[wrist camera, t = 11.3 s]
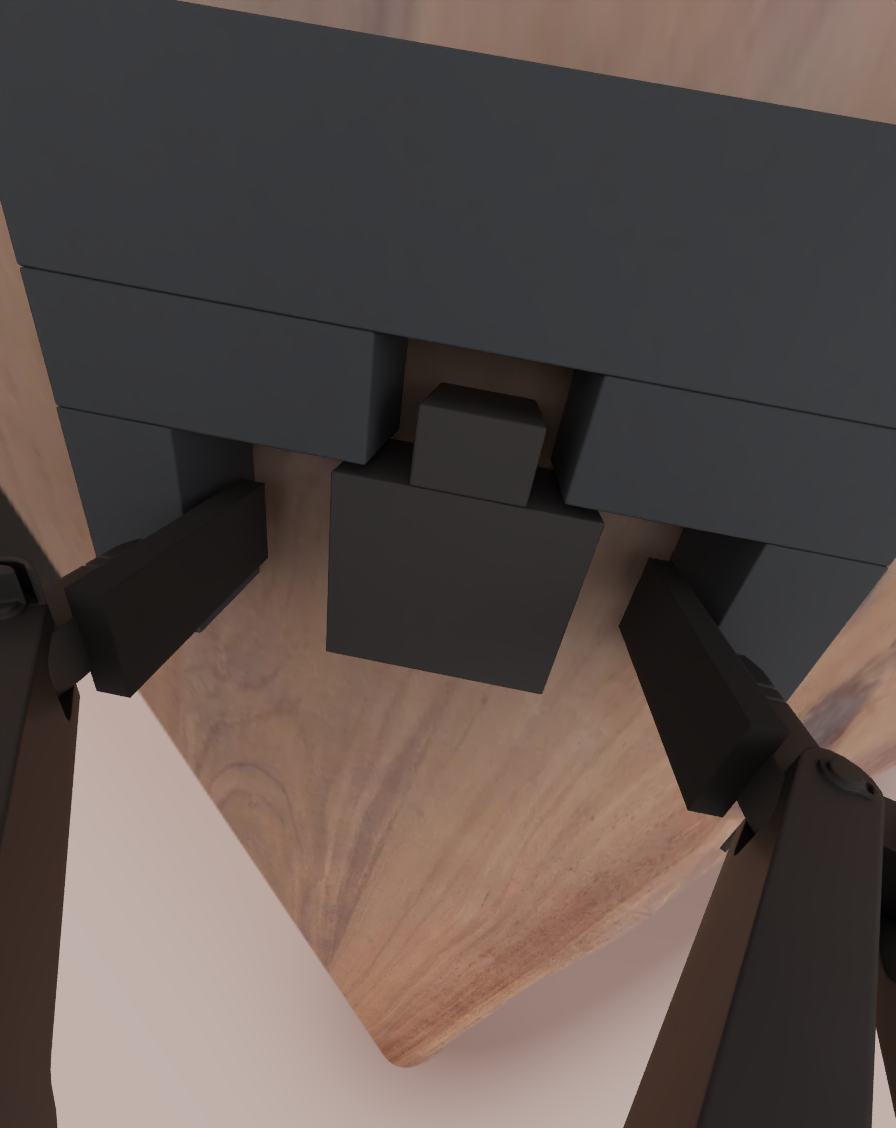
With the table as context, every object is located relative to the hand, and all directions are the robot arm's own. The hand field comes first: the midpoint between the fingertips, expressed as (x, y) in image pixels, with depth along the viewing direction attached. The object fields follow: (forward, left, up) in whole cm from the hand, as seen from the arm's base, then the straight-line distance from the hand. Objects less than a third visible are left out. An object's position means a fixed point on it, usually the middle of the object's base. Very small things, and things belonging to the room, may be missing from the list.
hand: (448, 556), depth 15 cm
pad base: (0, +4, -2) cm, 4 cm away
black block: (0, 0, -2) cm, 2 cm away
